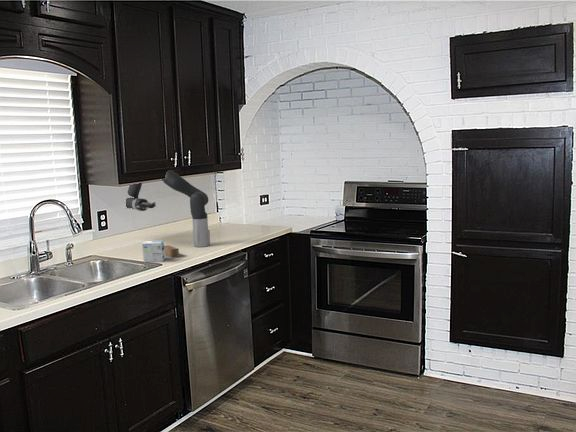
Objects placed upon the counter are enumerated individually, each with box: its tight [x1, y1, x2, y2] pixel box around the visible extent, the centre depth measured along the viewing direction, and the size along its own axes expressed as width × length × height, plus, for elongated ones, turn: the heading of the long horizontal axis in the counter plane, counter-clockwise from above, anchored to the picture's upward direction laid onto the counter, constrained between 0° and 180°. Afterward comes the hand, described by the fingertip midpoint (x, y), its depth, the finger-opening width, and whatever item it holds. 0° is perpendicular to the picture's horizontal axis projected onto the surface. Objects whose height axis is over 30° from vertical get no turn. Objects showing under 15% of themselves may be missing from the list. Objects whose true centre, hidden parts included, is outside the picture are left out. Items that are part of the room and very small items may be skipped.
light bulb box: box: [142, 240, 166, 263], centre depth 312 cm, size 11×7×11 cm, turn 92°
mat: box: [164, 252, 187, 261], centre depth 323 cm, size 12×14×1 cm
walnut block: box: [164, 245, 180, 257], centre depth 324 cm, size 4×4×13 cm
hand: (152, 206), depth 335 cm, fingers closed
